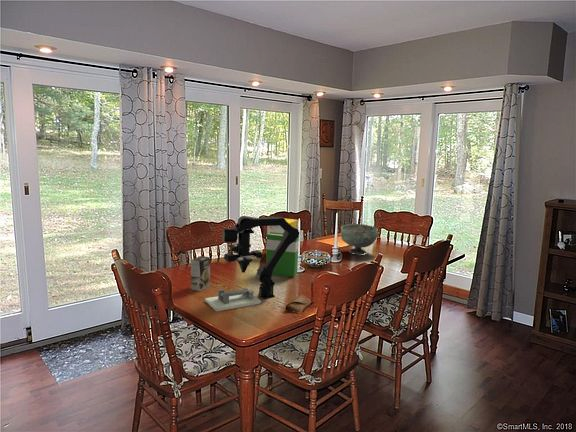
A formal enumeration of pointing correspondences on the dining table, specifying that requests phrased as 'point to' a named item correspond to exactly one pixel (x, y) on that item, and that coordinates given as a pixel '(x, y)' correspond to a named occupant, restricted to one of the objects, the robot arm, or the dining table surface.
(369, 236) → the decorative bowl
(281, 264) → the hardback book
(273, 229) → the packaging box
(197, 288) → the coffee box
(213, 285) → the dining table surface
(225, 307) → the base
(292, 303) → the sunglasses case
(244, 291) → the bar
